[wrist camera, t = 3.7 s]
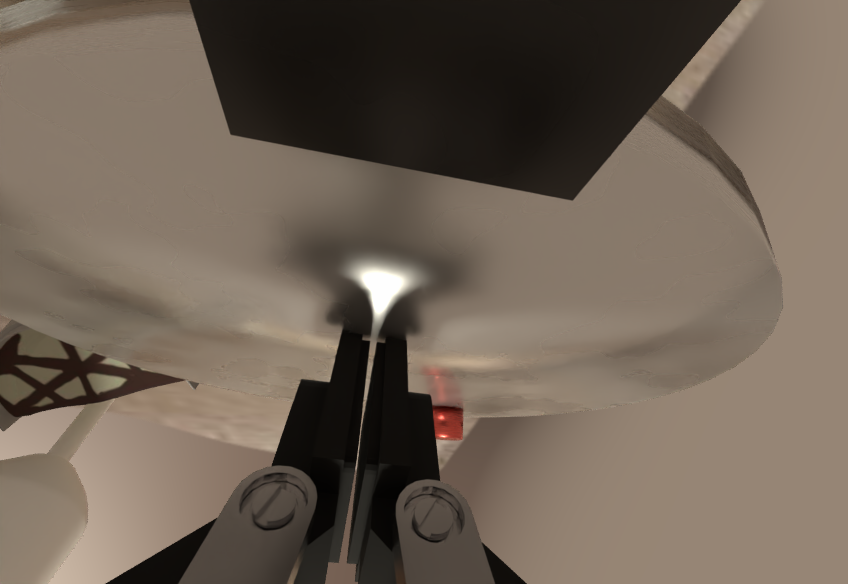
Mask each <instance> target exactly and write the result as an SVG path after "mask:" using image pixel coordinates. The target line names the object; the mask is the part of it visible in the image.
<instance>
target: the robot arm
mask: <svg viewBox="0 0 848 584" xmlns="http://www.w3.org/2000/svg"><path fill="white" fill-rule="evenodd" d="M362 337H363V334H358V333H350V332H343V331H342V332H341V336H340V341H339V345H338V349H337V353H336V357H335V362H334V366H333V370H332V374H331V379H330V382H324V381H316V380H308V379H301V381H300V383H299V386H298V389H297V392H296V395H295V398H294V401H293V404H292V407H291V410H290V413H289V416H288V419H287V422H286V425H285V428H284V431H283V433H282V436H281V439H280V442H279V445H278V448H277V451H276V454H275V457H274V460H273V463H272V466H271V467H266V468H263V469H261V470H258V471H256V472H253V473H252V474H251V475H249V476H248V477H246V478H245V479H244V480H242V481H241V483H240V484H239V485H238V486H237V488H236V489H235V490H234V491H233V493H232V495H231V497H230V498H229V500H228V501H227V503H226V505H225V506H224V508H223V510H222V512H221V513H220V515H219V517H218V518H216V519H214V520H213V521H211V522H209V523H208V524H206V525H204V526H202V527H201V528H199V529H197V530H196V531H194V532H192V533H191V534H189V535H187V536H185V537H184V538H182V539H180V540H179V541H177V542H175V543H174V544H172V545H170V546H169V547H167V548H165V549H163V550H162V551H160V552H158V553H157V554H155V555H153V556H152V557H150V558H148V559H147V560H145V561H143V562H141V563H140V564H138V565H136V566H135V567H133V568H131V569H130V570H128V571H126V572H124V573H123V574H121V575H119V576H118V577H116V578H114V579H113V580H111V581H110V582H108V583H106V584H325V580H326V574H327V567H328V562H334V563H339V558H340V552H341V546H342V541H343V535H344V529H345V524H346V518H347V513H348V506H349V501H350V496H351V490H352V483H353V479H354V473H355V467H356V460H357V453H358V445H359V436H360V427H361V419H362V410H363V401H364V392H365V384H366V375H367V366H368V358H369V349H370V341H367V340H362ZM347 563H349V564H356V575H355V582H358V584H527V583H525V582H524V581H523V580H522V579H521V578H520V577H519V576H518V575H517V574H516V573H515V572H513V571H512V570H511V569H510V568H509V567H508V566H507V565H506V564H505V563H504V562H503V561H502V560H501V559H499V558H498V557H497V556H496V555H495V554H494V553H493V552H492V551H491V550H490V549H489V548H488V547H486V546H485V545H484V544H483V543H482V542H481V539H480V536H479V533H478V530H477V527H476V524H475V521H474V517H473V514H472V511H471V509H470V507H469V505H468V503H467V501H466V499H465V498H464V497H463V496H462V495H461V494H460V493H459V491H457V490H456V489H454V488H453V487H451V486H450V485H448V484H445V483H443V482H441V481H440V475H439V465H438V455H437V446H436V436H435V426H434V417H433V407H432V399H431V395H430V394H423V393H415V392H408V359H407V340H401V339H394V338H386V339H385V343H382V342H377V344H376V349H375V355H374V360H373V366H372V372H371V378H370V383H369V389H368V395H367V400H366V406H365V412H364V418H363V424H362V430H361V439H360V448H359V457H358V466H357V475H356V484H355V493H354V503H353V512H352V520H351V529H350V538H349V547H348V557H347Z"/></svg>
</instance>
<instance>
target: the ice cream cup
mask: <svg viewBox="0 0 848 584" xmlns="http://www.w3.org/2000/svg"><path fill="white" fill-rule="evenodd" d="M180 381H185V380H184V379H180V378H176V377H172V376H168V375H164V374H161V373H157V372H154V371H150V370H147V369H143V368H140V367H136V366H133V365H130V364H127V363H123V362H120V361H117V360H114V359H111V358H108V357H105V356H102V355H99V354H96V353H93V352H90V351H88V350H85V349H82V348H79V347H76V346H74V345H71V344H68V343H66V342H63V341H61V340H58V339H56V338H53V337H51V336H48V335H46V334H43V333H41V332H38V331H36V330H33V329H31V328H29V327H27V326H25V325H23V324H21V323H18V322H16V321H14V320H11V321H10V322H9V323H8V324H7V325H6V327H5V328H4V329H3V330H2V331H1V332H0V429H1V430H2V431H5V430H6V429H7V428H9V427H10V426H11V425H12V424H13V423H15V421H17V420H18V419H19V418H20V417H22V416H27V415H32V414H35V413H38V412H42V411H46V410H51V409H55V408H61V407H67V406H76V405H86V404H93V403H100V402H104V401H108V400H111V399H115V398H118V397H121V396H124V395H128V394H131V393H134V392H138V391H141V390H145V389H148V388H153V387H157V386H162V385H166V384H171V383H175V382H180ZM186 381H187V382H188V384H189V385H190V386H191V388H192V389H193V390H195V389H196V387H197V386H198V384H199V383H196V382H191V381H188V380H186Z"/></svg>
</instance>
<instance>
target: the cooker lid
mask: <svg viewBox="0 0 848 584" xmlns="http://www.w3.org/2000/svg"><path fill="white" fill-rule="evenodd" d="M740 1H741V0H26V1H23V2H20V3H17V4H14V5H11V6H8V7H5V8H2V9H0V314H1V315H3V316H5V317H8V318H10V319H12V320H14V321H16V322H18V323H21V324H23V325H25V326H27V327H29V328H31V329H33V330H36V331H38V332H41V333H43V334H46V335H48V336H51V337H53V338H56V339H58V340H61V341H63V342H66V343H68V344H71V345H74V346H76V347H79V348H82V349H85V350H88V351H90V352H93V353H96V354H99V355H102V356H105V357H108V358H111V359H114V360H117V361H120V362H123V363H127V364H130V365H133V366H136V367H140V368H143V369H147V370H150V371H154V372H157V373H161V374H164V375H168V376H172V377H176V378H180V379H184V380H188V381H191V382H196V383H200V384H204V385H209V386H213V387H217V388H222V389H226V390H231V391H236V392H241V393H246V394H251V395H256V396H262V397H267V398H273V399H278V400H285V401H291V402H293V401H294V398H295V395H296V392H297V389H298V386H299V383H300V381H301V379H308V380H316V381H324V382H330V379H331V374H332V370H333V366H334V362H335V357H336V353H337V349H338V345H339V341H340V336H341V332H342V331H343V332H350V333H358V334H363V337H362V340H367V341H370V349H369V358H368V366H367V375H366V384H365V392H364V401H363V410H362V411H365V406H366V400H367V395H368V389H369V383H370V378H371V372H372V366H373V360H374V355H375V349H376V344H377V342H382V343H385V339H386V338H394V339H401V340H407V359H408V392H415V393H423V394H430V395H431V399H432V407H433V417H434V426H435V436H436V439H439V440H462V439H463V417H513V416H534V415H550V414H561V413H572V412H581V411H589V410H596V409H603V408H610V407H615V406H620V405H626V404H632V403H636V402H641V401H644V400H649V399H654V398H658V397H661V396H665V395H668V394H671V393H675V392H678V391H681V390H685V389H687V388H690V387H692V386H695V385H697V384H700V383H703V382H705V381H708V380H710V379H712V378H714V377H716V376H718V375H720V374H722V373H724V372H726V371H728V370H730V369H731V368H734V367H735V366H737V365H738V364H739V363H741V362H742V361H743V360H745V359H746V358H748V357H749V356H750V355H752V354H753V353H754V352H755V351H757V350H758V349H759V347H760V346H761V345H762V344H763V343H764V342H765V340H766V339H767V338H768V337H769V336H770V335H771V334H772V332H773V331H774V328H775V326H776V323H777V321H778V318H779V316H780V313H781V311H782V309H783V298H782V278H781V274H780V271H779V268H778V266H777V262H776V259H775V256H774V253H773V250H772V247H771V244H770V241H769V237H768V234H767V231H766V228H765V225H764V222H763V219H762V216H761V213H760V210H759V208H758V206H757V204H756V202H755V200H754V197H753V195H752V193H751V191H750V189H749V187H748V185H747V183H746V180H745V178H744V176H743V174H742V172H741V170H740V169H739V168H738V167H737V166H736V164H735V163H734V162H733V161H732V160H731V159H730V158H729V156H728V155H727V154H726V153H725V152H724V151H723V149H722V148H721V147H720V146H719V145H718V144H717V143H716V141H715V140H714V139H713V138H712V137H711V136H710V134H709V133H708V132H707V131H706V130H705V129H704V128H703V126H702V125H700V124H699V123H698V122H696V121H695V120H694V119H692V118H691V117H689V116H688V115H687V114H686V113H684V112H683V111H682V110H680V109H679V108H678V107H676V106H675V105H673V104H672V103H671V102H669V101H668V100H667V99H665V98H664V97H663V96H661V95H662V94H663V93H664V91H665V90H666V89H667V88H668V87H669V85H670V84H671V83H672V82H673V81H674V80H675V78H676V77H677V76H678V75H679V74H680V72H681V71H682V70H683V69H684V68H685V66H686V65H687V64H688V63H689V62H690V60H691V59H692V58H693V57H694V56H695V55H696V53H697V52H698V51H699V50H700V49H701V47H702V46H703V45H704V44H705V43H706V41H707V40H708V39H709V38H710V37H711V35H712V34H713V33H714V32H715V31H716V30H717V28H718V27H719V26H720V25H721V24H722V22H723V21H724V20H725V19H726V18H727V16H728V15H729V14H730V13H731V12H732V10H733V9H734V8H735V7H736V6H737V5H738V3H739V2H740Z"/></svg>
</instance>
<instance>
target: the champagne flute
mask: <svg viewBox="0 0 848 584" xmlns="http://www.w3.org/2000/svg"><path fill="white" fill-rule="evenodd" d="M114 400H115V399H111V400H108V401H104V402H100V403H93V404H87V405H86V406H85V407H84V409H83V410H82V411H81V412H80V414H79V415H78V416H77V417H76V419H75V420H74V421H73V422H72V424H71V425H70V426H69V427H68V428H67V430H66V431H65V432H64V433H63V435H62V436H61V437H60V438H59V440H58V441H57V442H56V443H55V445H54V446H53V447H52V448H51V450H50V451H49V452H48V453H47V454H33V455H27V456H22V457H17V458H12V459H6V460H1V461H0V584H48V583H49V582H50V580H51V579H52V578H53V576H54V575H55V573H56V572H57V571H58V569H59V568H60V567H61V565H62V564H63V562H64V561H65V560H66V558H67V557H68V555H69V554H70V553H71V551H72V550H73V549H74V547H75V546H76V544H77V543H78V541H79V540H80V539H81V537H82V536H83V533H84V531H85V528H86V525H87V522H88V521H87V520H88V503H87V496H86V492H85V490H84V487H83V485H82V483H81V481H80V479H79V477H78V474H77V472H76V470H75V468H74V467H73V465H72V464H70V463H69V460H70V459H71V458H72V456H73V455H74V453H75V452H76V451H77V450H78V448H79V447H80V445H81V444H82V443H83V442H84V440H85V439H86V437H87V436H88V435H89V433H90V432H91V431H92V429H93V428H94V427H95V425H96V424H97V423H98V421H99V420H100V418H101V417H102V416H103V415H104V413H105V412H106V411H107V409H108V408H109V407H110V405H111V404H112V402H113V401H114Z"/></svg>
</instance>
